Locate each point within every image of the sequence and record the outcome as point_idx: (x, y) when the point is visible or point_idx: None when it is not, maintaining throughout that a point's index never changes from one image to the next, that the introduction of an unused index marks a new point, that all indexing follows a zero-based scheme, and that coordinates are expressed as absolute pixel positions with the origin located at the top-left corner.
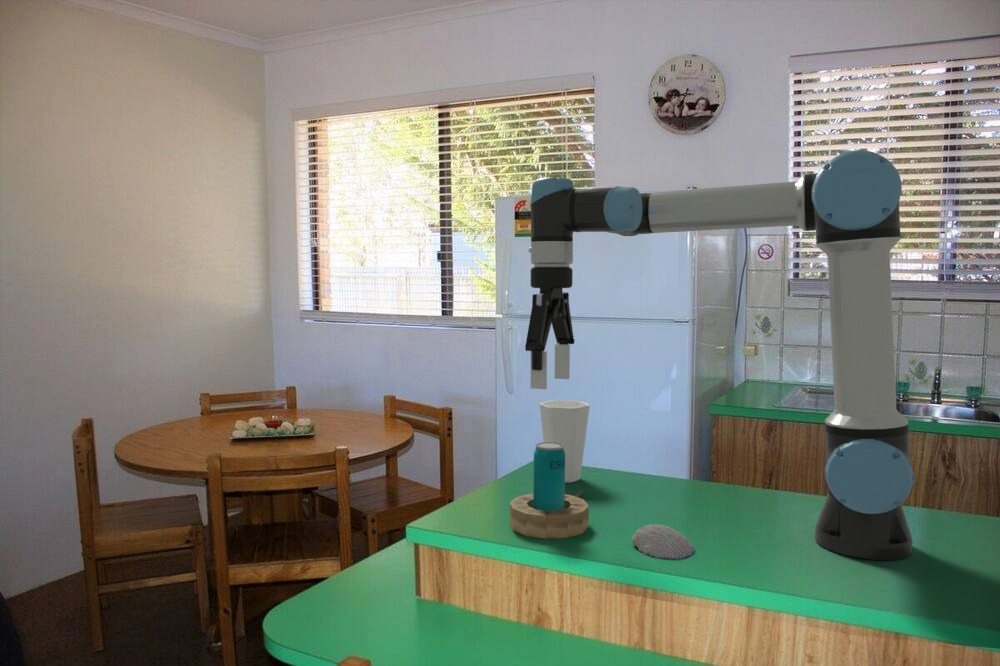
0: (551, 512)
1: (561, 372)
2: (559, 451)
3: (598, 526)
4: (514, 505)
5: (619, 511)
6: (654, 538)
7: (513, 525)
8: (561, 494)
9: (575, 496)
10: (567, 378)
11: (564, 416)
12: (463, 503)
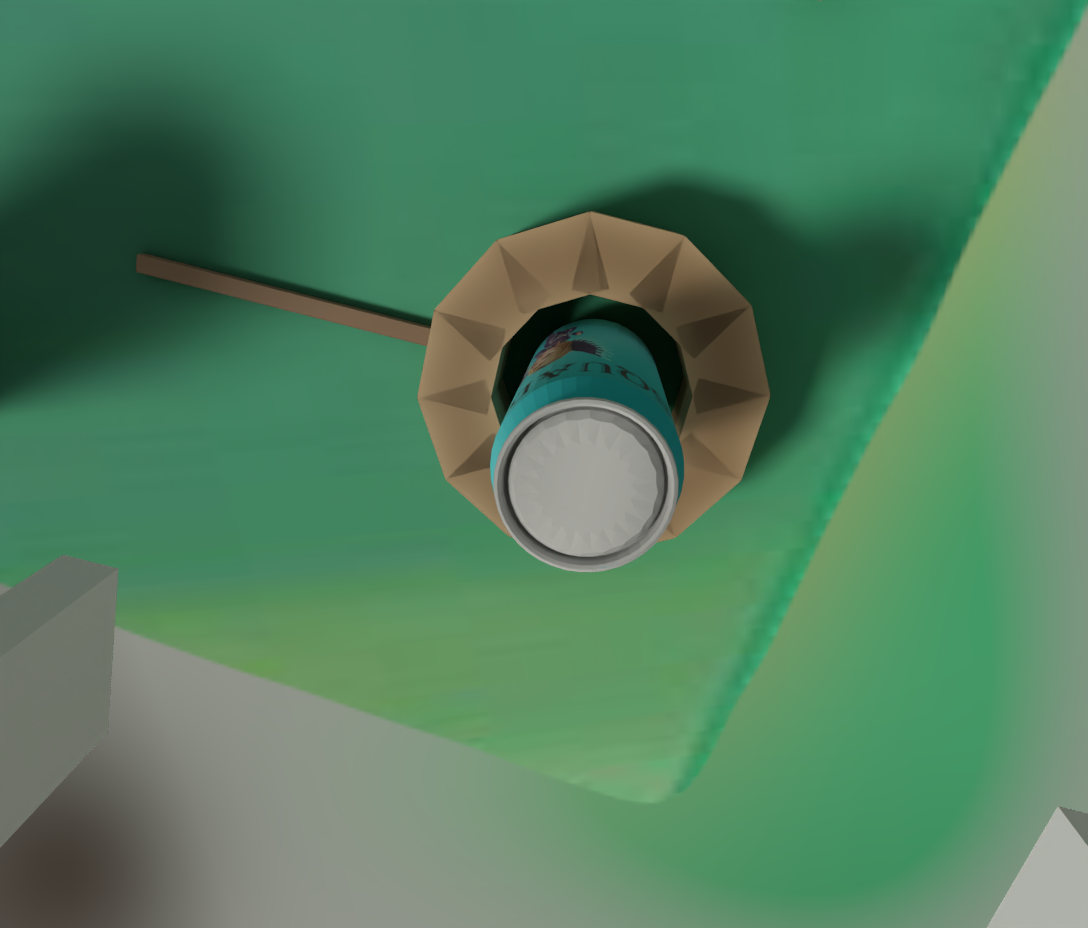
0: (716, 378)
1: (55, 708)
2: (648, 416)
3: (576, 165)
4: None
5: (346, 65)
6: None
7: None
8: (636, 350)
9: (215, 283)
10: (109, 583)
11: None
12: (387, 700)
